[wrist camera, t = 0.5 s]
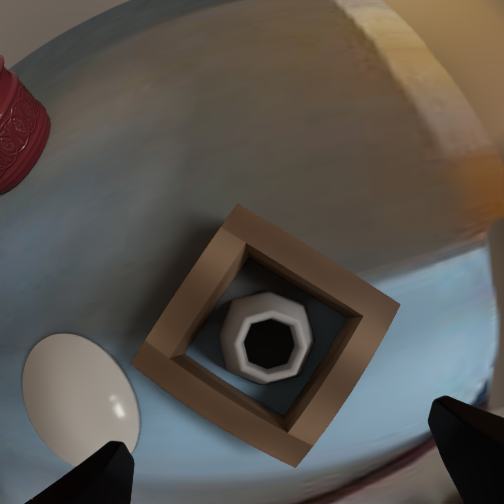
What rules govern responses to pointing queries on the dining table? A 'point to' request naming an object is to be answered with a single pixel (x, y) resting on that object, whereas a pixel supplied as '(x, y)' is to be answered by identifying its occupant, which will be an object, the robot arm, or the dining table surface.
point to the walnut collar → (305, 278)
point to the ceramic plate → (79, 397)
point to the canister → (19, 129)
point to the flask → (266, 337)
